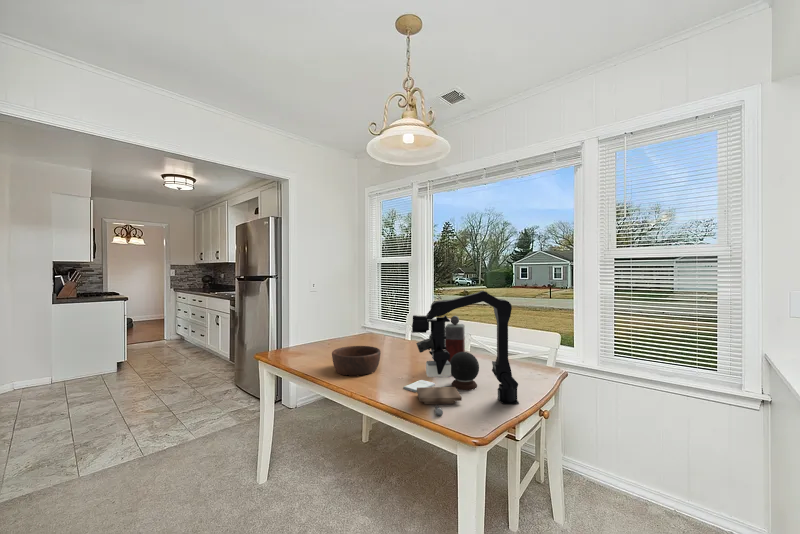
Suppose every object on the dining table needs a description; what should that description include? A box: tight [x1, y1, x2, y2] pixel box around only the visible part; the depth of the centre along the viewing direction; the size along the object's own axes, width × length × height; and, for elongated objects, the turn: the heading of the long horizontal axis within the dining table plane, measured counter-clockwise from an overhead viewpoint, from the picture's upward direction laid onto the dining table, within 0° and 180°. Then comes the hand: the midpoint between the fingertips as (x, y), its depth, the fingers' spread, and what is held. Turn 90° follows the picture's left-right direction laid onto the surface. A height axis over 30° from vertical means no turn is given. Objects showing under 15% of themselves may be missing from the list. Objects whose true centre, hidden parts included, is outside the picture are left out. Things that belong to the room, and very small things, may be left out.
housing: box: [425, 360, 452, 378], centre depth 137 cm, size 9×5×5 cm, turn 95°
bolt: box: [434, 404, 444, 417], centre depth 125 cm, size 6×3×3 cm, turn 2°
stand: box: [416, 386, 462, 405], centre depth 137 cm, size 16×12×3 cm
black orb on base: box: [450, 351, 480, 391], centre depth 154 cm, size 13×13×15 cm
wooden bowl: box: [331, 345, 382, 377], centre depth 179 cm, size 25×25×10 cm
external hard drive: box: [403, 379, 436, 393], centre depth 153 cm, size 2×8×12 cm
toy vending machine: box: [445, 315, 466, 362], centre depth 178 cm, size 9×11×28 cm
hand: (438, 372), depth 137 cm, fingers closed on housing, 5 cm apart
